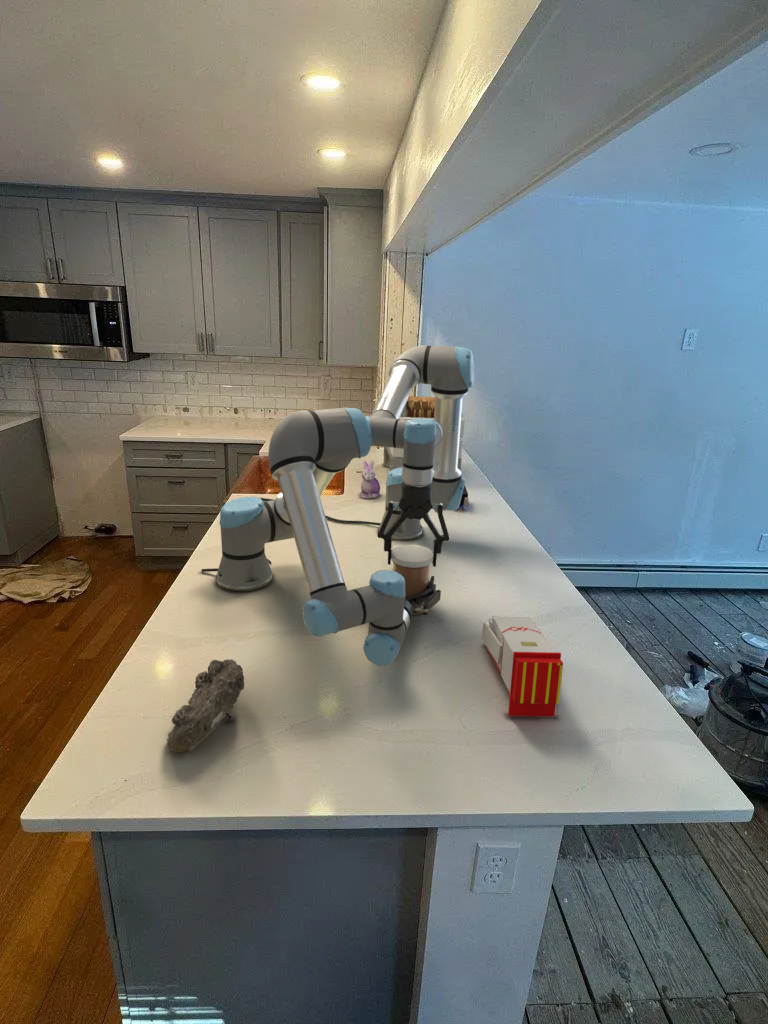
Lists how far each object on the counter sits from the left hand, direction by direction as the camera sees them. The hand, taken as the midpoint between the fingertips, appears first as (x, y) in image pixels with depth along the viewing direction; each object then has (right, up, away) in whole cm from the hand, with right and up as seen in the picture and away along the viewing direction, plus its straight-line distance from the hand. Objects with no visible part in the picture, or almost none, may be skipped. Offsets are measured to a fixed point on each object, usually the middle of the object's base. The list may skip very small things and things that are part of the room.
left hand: (413, 577), depth 154 cm
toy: (+21, -18, -29) cm, 40 cm away
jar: (-1, -7, -2) cm, 8 cm away
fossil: (-41, -21, -46) cm, 65 cm away
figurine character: (+22, +20, +78) cm, 83 cm away
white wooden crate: (+9, +37, +121) cm, 127 cm away
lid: (-1, +7, -7) cm, 10 cm away
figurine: (-14, +25, +85) cm, 89 cm away
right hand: (-1, +4, -6) cm, 7 cm away
